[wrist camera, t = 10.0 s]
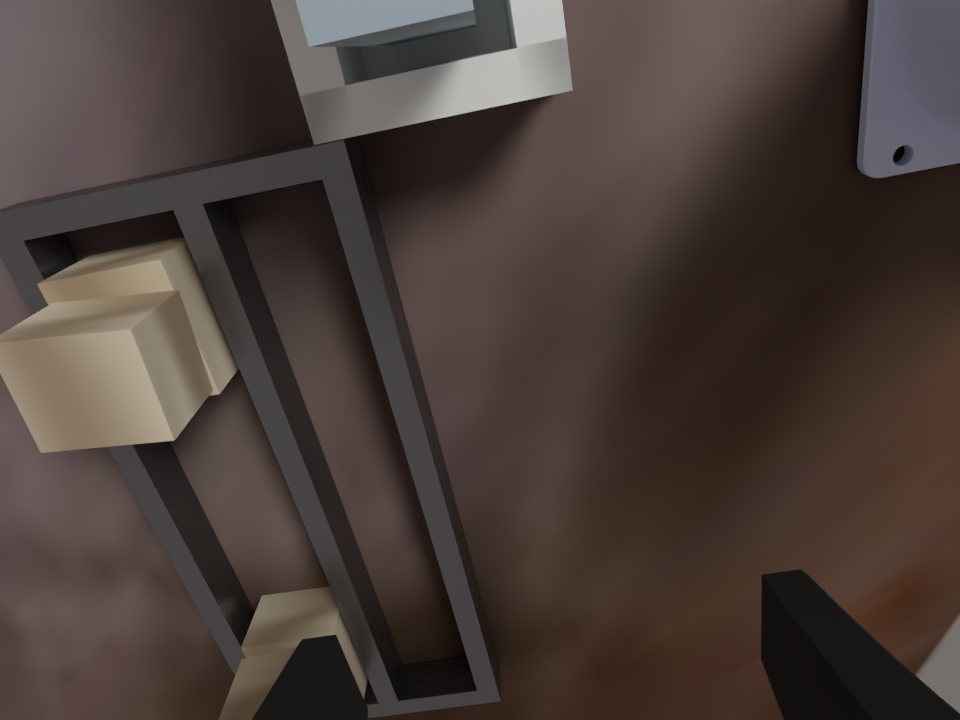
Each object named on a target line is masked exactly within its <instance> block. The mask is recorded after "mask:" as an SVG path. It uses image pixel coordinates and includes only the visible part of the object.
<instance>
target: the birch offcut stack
mask: <svg viewBox="0 0 960 720" xmlns="http://www.w3.org/2000/svg"><path fill="white" fill-rule="evenodd" d="M37 285H38V287H39V289H40V291H41V293H42V294H43V296H44V298H45V300H46V302H47V304H48V306H47V307H45V308H44V309H42V310H40V311H39V312H37V313H35V314H34V315H32V316H30V317H29V318H27V319H25V320H24V321H22V322H21V323H19V324H17V325H16V326H14V327H12V328H11V329H9V330H7V331H6V332H4V333H3V334H1V335H0V374H1V376H2V378H3V380H4V381H5V383H6V385H7V387H8V389H9V391H10V393H11V395H12V397H13V399H14V401H15V403H16V405H17V407H18V409H19V411H20V413H21V415H22V417H23V418H24V420H25V422H26V424H27V426H28V428H29V430H30V432H31V434H32V436H33V438H34V440H35V442H36V444H37V446H38V448H39V450H40V452H41V453H45V452H56V451H67V450H78V449H89V448H100V447H111V446H122V445H133V444H143V443H154V442H165V441H175V439H176V438H177V437H178V435H179V434H180V433H181V432H182V430H183V429H184V428H185V426H186V425H187V424H188V422H189V421H190V420H191V418H192V417H193V416H194V415H195V413H196V412H197V411H198V409H199V408H200V407H201V405H202V404H203V403H204V402H205V400H206V399H207V398H208V396H212V395H218V394H220V393H221V392H222V391H223V389H224V388H225V387H226V385H227V384H228V383H229V381H230V380H231V378H232V377H233V376H234V374H235V373H236V372H237V370H238V369H239V367H238V365H237V362H236V360H235V357H234V355H233V353H232V350H231V348H230V345H229V343H228V341H227V338H226V336H225V333H224V331H223V329H222V326H221V324H220V321H219V319H218V317H217V314H216V312H215V309H214V307H213V304H212V302H211V300H210V297H209V295H208V292H207V290H206V288H205V285H204V283H203V280H202V278H201V276H200V273H199V271H198V268H197V266H196V264H195V261H194V259H193V256H192V254H191V252H190V249H189V247H188V244H187V242H186V240H185V237H184V236H183V237H178V238H173V239H168V240H163V241H158V242H153V243H148V244H143V245H138V246H133V247H128V248H123V249H118V250H114V251H109V252H104V253H99V254H94V255H89V256H88V257H86V258H84V259H82V260H80V261H78V262H77V263H75V264H73V265H71V266H69V267H67V268H66V269H64V270H62V271H60V272H58V273H56V274H55V275H53V276H51V277H49V278H47V279H45V280H44V281H42V282H40V283H38V284H37Z"/></svg>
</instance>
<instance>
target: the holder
mask: <svg viewBox="0 0 960 720" xmlns="http://www.w3.org/2000/svg"><path fill="white" fill-rule="evenodd" d="M271 3H272V7H273V10H274V13H275V16H276V20H277V23H278V26H279V30H280V33H281V36H282V40H283V43H284V46H285V50H286V53H287V56H288V60H289V63H290V66H291V70H292V73H293V76H294V80H295V83H296V86H297V90H298V93H299V96H300V99H301V103H302V106H303V109H304V113H305V116H306V119H307V123H308V126H309V129H310V133H311V136H312V139H313V143H314V145H316V144H321V143H326V142H331V141H335V140H340V139H345V138H350V137H354V136H359V135H364V134H368V133H373V132H378V131H383V130H387V129H392V128H397V127H402V126H406V125H411V124H416V123H421V122H425V121H430V120H435V119H440V118H444V117H449V116H454V115H459V114H463V113H468V112H473V111H478V110H482V109H487V108H492V107H497V106H501V105H506V104H511V103H515V102H520V101H525V100H530V99H534V98H539V97H544V96H549V95H553V94H558V93H563V92H568V91H572V90H573V89H572V80H571V72H570V64H569V55H568V47H567V39H566V30H565V22H564V14H563V5H562V0H473V6H474V12H475V18H476V24H477V26H476V27H471V28H467V29H462V30H458V31H453V32H449V33H444V34H440V35H435V36H431V37H426V38H422V39H417V40H413V41H408V42H404V43H400V44H395V45H391V46H346V47H309V46H308V42H307V39H306V35H305V32H304V28H303V25H302V21H301V18H300V14H299V11H298V7H297V4H296V0H271Z"/></svg>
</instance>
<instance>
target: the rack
mask: <svg viewBox="0 0 960 720" xmlns="http://www.w3.org/2000/svg"><path fill="white" fill-rule="evenodd" d="M321 179H322V180H323V183H324V186H325V190H326V193H327V196H328V199H329V203H330V206H331V209H332V213H333V216H334V219H335V223H336V226H337V229H338V233H339V236H340V239H341V242H342V246H343V249H344V252H345V256H346V259H347V262H348V266H349V269H350V272H351V275H352V279H353V282H354V285H355V289H356V292H357V295H358V299H359V302H360V305H361V309H362V312H363V315H364V318H365V322H366V325H367V328H368V332H369V335H370V338H371V342H372V345H373V348H374V351H375V355H376V358H377V361H378V365H379V368H380V371H381V375H382V378H383V381H384V385H385V388H386V391H387V394H388V398H389V401H390V404H391V408H392V411H393V414H394V418H395V421H396V424H397V427H398V431H399V434H400V437H401V441H402V444H403V447H404V451H405V454H406V457H407V461H408V464H409V467H410V470H411V474H412V477H413V480H414V484H415V487H416V490H417V494H418V497H419V500H420V503H421V507H422V510H423V513H424V517H425V520H426V523H427V527H428V530H429V533H430V537H431V540H432V543H433V546H434V550H435V553H436V556H437V560H438V563H439V566H440V570H441V573H442V576H443V579H444V583H445V586H446V589H447V593H448V596H449V599H450V603H451V606H452V609H453V613H454V616H455V619H456V622H457V626H458V629H459V632H460V636H461V639H462V642H463V646H464V649H465V652H466V655H467V657H461V658H454V659H446V660H439V661H432V662H424V663H417V664H409V665H402V663H401V660H400V657H399V655H398V652H397V649H396V647H395V644H394V641H393V639H392V636H391V633H390V631H389V628H388V625H387V623H386V620H385V617H384V614H383V612H382V609H381V606H380V604H379V601H378V598H377V596H376V593H375V590H374V588H373V585H372V582H371V580H370V577H369V574H368V572H367V569H366V566H365V564H364V561H363V558H362V556H361V553H360V550H359V548H358V545H357V542H356V540H355V537H354V534H353V532H352V529H351V526H350V524H349V521H348V518H347V516H346V513H345V510H344V507H343V505H342V502H341V499H340V497H339V494H338V491H337V489H336V486H335V483H334V481H333V478H332V475H331V473H330V470H329V467H328V465H327V462H326V459H325V457H324V454H323V451H322V449H321V446H320V443H319V441H318V438H317V435H316V433H315V430H314V427H313V425H312V422H311V419H310V417H309V414H308V411H307V409H306V406H305V403H304V400H303V398H302V395H301V392H300V390H299V387H298V384H297V382H296V379H295V376H294V374H293V371H292V368H291V366H290V363H289V360H288V358H287V355H286V352H285V350H284V347H283V344H282V342H281V339H280V336H279V334H278V331H277V328H276V326H275V323H274V320H273V318H272V315H271V312H270V310H269V307H268V304H267V302H266V299H265V296H264V293H263V291H262V288H261V285H260V283H259V280H258V277H257V275H256V272H255V269H254V267H253V264H252V261H251V259H250V256H249V253H248V251H247V248H246V245H245V243H244V240H243V237H242V235H241V232H240V229H239V227H238V224H237V221H236V219H235V216H234V213H233V211H232V208H231V205H230V203H229V200H228V199H229V198H234V197H239V196H243V195H248V194H253V193H258V192H263V191H268V190H273V189H277V188H282V187H287V186H292V185H297V184H302V183H307V182H311V181H316V180H321ZM170 210H173V211H174V213H175V216H176V218H177V220H178V223H179V225H180V228H181V230H182V232H183V235H184V237H185V240H186V242H187V244H188V247H189V249H190V252H191V254H192V256H193V259H194V261H195V264H196V266H197V268H198V271H199V273H200V276H201V278H202V280H203V283H204V285H205V288H206V290H207V292H208V295H209V297H210V300H211V302H212V304H213V307H214V309H215V312H216V314H217V317H218V319H219V321H220V324H221V326H222V329H223V331H224V333H225V336H226V338H227V341H228V343H229V345H230V348H231V350H232V353H233V355H234V357H235V360H236V362H237V365H238V367H239V369H240V372H241V374H242V377H243V379H244V381H245V384H246V386H247V389H248V391H249V393H250V396H251V398H252V401H253V403H254V405H255V408H256V410H257V413H258V415H259V417H260V420H261V422H262V425H263V427H264V429H265V432H266V434H267V437H268V439H269V441H270V444H271V446H272V449H273V451H274V453H275V456H276V458H277V461H278V463H279V465H280V468H281V470H282V473H283V475H284V477H285V480H286V482H287V485H288V487H289V490H290V492H291V494H292V497H293V499H294V502H295V504H296V506H297V509H298V511H299V514H300V516H301V518H302V521H303V523H304V526H305V528H306V530H307V533H308V535H309V538H310V540H311V542H312V545H313V547H314V550H315V552H316V554H317V557H318V559H319V562H320V564H321V566H322V569H323V571H324V574H325V576H326V578H327V581H328V583H329V586H330V588H331V590H332V593H333V595H334V598H335V600H336V602H337V605H338V607H339V610H340V612H341V614H342V617H343V619H344V622H345V624H346V626H347V629H348V631H349V634H350V636H351V638H352V641H353V643H354V646H355V648H356V650H357V653H358V655H359V658H360V660H361V663H362V665H363V667H364V670H365V672H366V675H367V677H368V679H367V685H366V691H365V696H364V701H365V703H366V706H367V708H368V718H374V717H381V716H389V715H397V714H405V713H413V712H421V711H428V710H436V709H444V708H452V707H460V706H468V705H475V704H483V703H491V702H499V701H501V689H500V665H499V661H498V657H497V654H496V650H495V646H494V642H493V639H492V635H491V631H490V628H489V624H488V620H487V617H486V613H485V609H484V606H483V602H482V598H481V594H480V591H479V587H478V583H477V580H476V576H475V572H474V569H473V565H472V561H471V557H470V554H469V550H468V546H467V543H466V539H465V535H464V532H463V528H462V524H461V521H460V517H459V513H458V509H457V506H456V502H455V498H454V495H453V491H452V487H451V484H450V480H449V476H448V472H447V469H446V465H445V461H444V458H443V454H442V450H441V447H440V443H439V439H438V435H437V432H436V428H435V424H434V421H433V417H432V413H431V410H430V406H429V402H428V399H427V395H426V391H425V387H424V384H423V380H422V376H421V373H420V369H419V365H418V362H417V358H416V354H415V350H414V347H413V343H412V339H411V336H410V332H409V328H408V325H407V321H406V317H405V314H404V310H403V306H402V302H401V299H400V295H399V291H398V288H397V284H396V280H395V277H394V273H393V269H392V265H391V262H390V258H389V254H388V251H387V247H386V243H385V240H384V236H383V232H382V228H381V225H380V221H379V217H378V214H377V210H376V206H375V203H374V199H373V195H372V192H371V188H370V184H369V180H368V177H367V173H366V169H365V166H364V162H363V158H362V155H361V151H360V147H359V143H358V140H357V136H354V137H350V138H345V139H340V140H335V141H331V142H326V143H321V144H316V145H314V143H313V141H310V142H305V143H301V144H296V145H291V146H286V147H282V148H277V149H272V150H268V151H263V152H258V153H253V154H249V155H244V156H239V157H234V158H230V159H225V160H220V161H215V162H211V163H206V164H201V165H197V166H192V167H187V168H182V169H178V170H173V171H168V172H163V173H159V174H154V175H149V176H145V177H140V178H135V179H130V180H126V181H121V182H116V183H111V184H107V185H102V186H97V187H93V188H88V189H83V190H78V191H74V192H69V193H64V194H59V195H55V196H50V197H45V198H41V199H36V200H31V201H26V202H22V203H18V204H15V205H12V206H9V207H6V208H3V209H0V256H1V258H2V259H3V261H4V263H5V265H6V266H7V268H8V270H9V272H10V274H11V275H12V277H13V279H14V281H15V283H16V284H17V286H18V288H19V290H20V292H21V293H22V295H23V297H24V299H25V301H26V302H27V304H28V306H29V308H30V309H31V311H32V313H33V315H34V314H35V313H37V312H39V311H40V310H42V309H44V308H45V307H47V306H48V304H47V302H46V300H45V298H44V296H43V294H42V293H41V291H40V289H39V287H38V285H37V284H38V283H40V282H42V281H44V280H45V279H47V278H49V277H51V276H53V275H55V274H56V273H58V272H60V271H62V270H64V269H66V268H67V267H69V266H71V265H73V264H75V263H77V262H78V261H77V259H76V257H75V255H74V253H73V251H72V249H71V247H70V245H69V243H68V241H67V239H66V237H65V235H64V232H68V231H73V230H78V229H83V228H88V227H93V226H98V225H102V224H107V223H112V222H117V221H122V220H127V219H132V218H136V217H141V216H146V215H151V214H156V213H161V212H166V211H170ZM108 449H109V451H110V453H111V455H112V456H113V458H114V460H115V462H116V464H117V465H118V467H119V469H120V471H121V473H122V474H123V476H124V478H125V480H126V481H127V483H128V485H129V487H130V489H131V490H132V492H133V494H134V496H135V498H136V499H137V501H138V503H139V505H140V507H141V508H142V510H143V512H144V514H145V516H146V517H147V519H148V521H149V523H150V524H151V526H152V528H153V530H154V532H155V533H156V535H157V537H158V539H159V541H160V542H161V544H162V546H163V548H164V550H165V551H166V553H167V555H168V557H169V558H170V560H171V562H172V564H173V566H174V567H175V569H176V571H177V573H178V575H179V576H180V578H181V580H182V582H183V584H184V585H185V587H186V589H187V591H188V593H189V594H190V596H191V598H192V600H193V601H194V603H195V605H196V607H197V609H198V610H199V612H200V614H201V616H202V618H203V619H204V621H205V623H206V625H207V627H208V628H209V630H210V632H211V634H212V636H213V637H214V639H215V641H216V643H217V644H218V646H219V648H220V650H221V652H222V653H223V655H224V657H225V659H226V661H227V662H228V664H229V666H230V668H231V670H232V671H233V673H234V675H236V673H237V670H238V668H239V665H240V663H241V660H242V659H245V658H246V657H245V655H244V653H243V651H242V649H241V647H242V644H243V642H244V639H245V637H246V634H247V631H248V629H249V626H250V624H251V621H252V619H253V616H254V614H255V613H254V611H253V609H252V607H251V605H250V603H249V601H248V599H247V597H246V595H245V593H244V591H243V589H242V587H241V585H240V583H239V581H238V579H237V577H236V575H235V573H234V571H233V569H232V567H231V565H230V563H229V561H228V559H227V557H226V555H225V553H224V551H223V549H222V547H221V545H220V543H219V541H218V539H217V537H216V535H215V533H214V531H213V529H212V527H211V525H210V523H209V521H208V519H207V517H206V515H205V513H204V511H203V509H202V507H201V505H200V503H199V501H198V499H197V497H196V495H195V493H194V491H193V489H192V487H191V485H190V483H189V481H188V479H187V477H186V475H185V473H184V471H183V469H182V467H181V465H180V463H179V462H178V460H177V458H176V456H175V454H174V452H173V450H172V448H171V446H170V444H169V442H168V441H165V442H154V443H143V444H133V445H122V446H111V447H108Z"/></svg>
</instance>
